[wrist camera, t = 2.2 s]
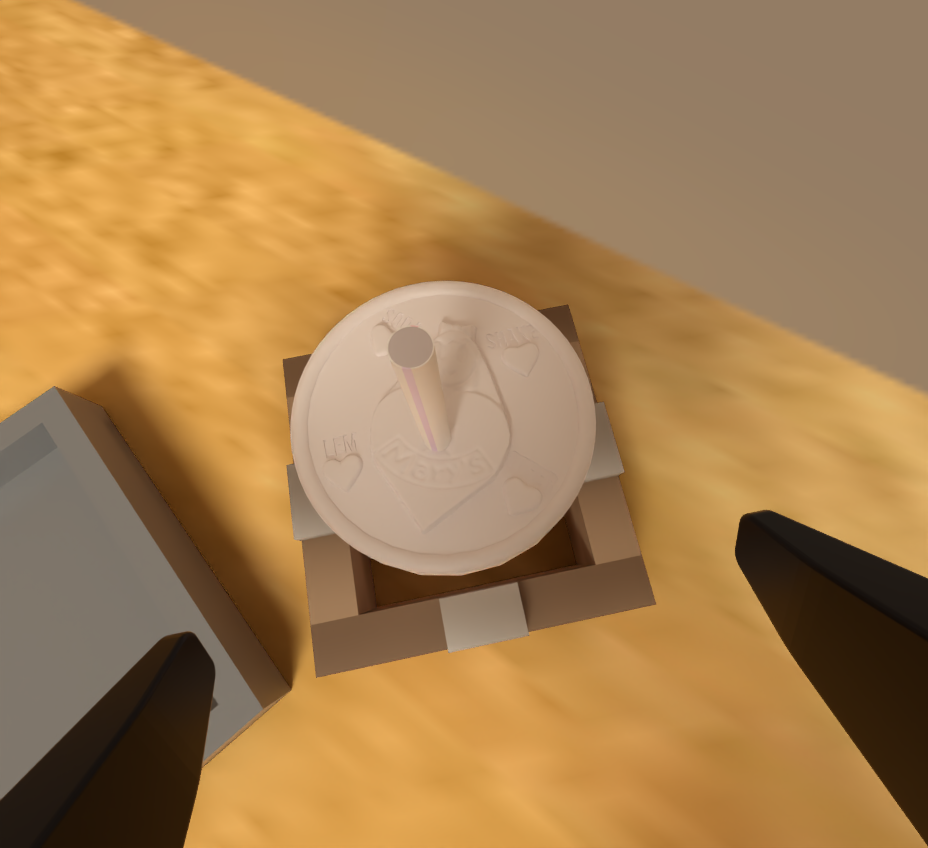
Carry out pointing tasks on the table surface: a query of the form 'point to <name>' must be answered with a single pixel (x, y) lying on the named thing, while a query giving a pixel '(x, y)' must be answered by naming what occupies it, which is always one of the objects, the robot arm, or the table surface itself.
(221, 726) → the tray
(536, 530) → the smoothie
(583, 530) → the clip collar
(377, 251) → the table surface
